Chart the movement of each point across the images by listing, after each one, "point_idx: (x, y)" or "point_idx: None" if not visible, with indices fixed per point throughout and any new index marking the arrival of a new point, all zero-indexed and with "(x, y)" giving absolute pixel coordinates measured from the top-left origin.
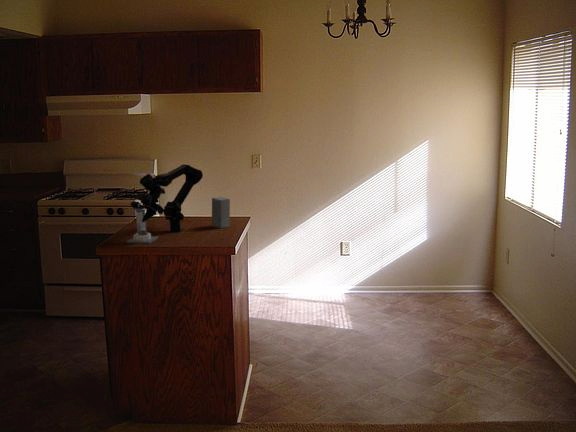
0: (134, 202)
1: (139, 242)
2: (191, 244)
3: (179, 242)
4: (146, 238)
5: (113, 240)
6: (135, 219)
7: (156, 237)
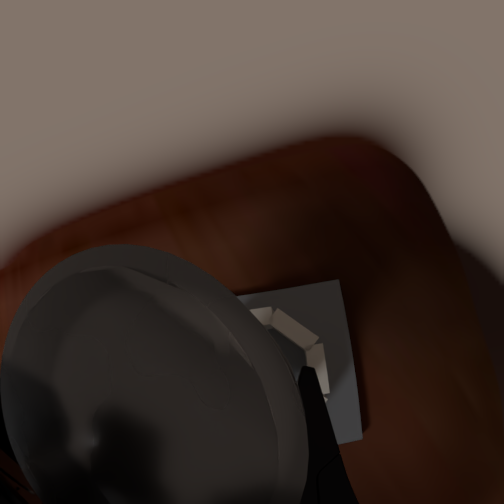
0: None
1: (239, 297)
2: (8, 317)
3: None
4: None
5: (463, 315)
6: (311, 374)
7: None
